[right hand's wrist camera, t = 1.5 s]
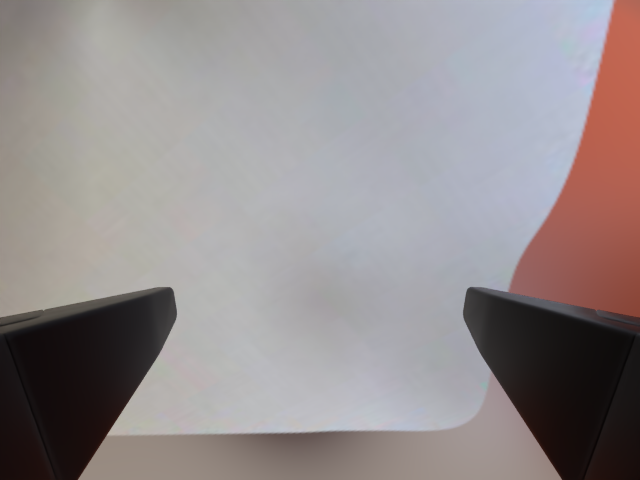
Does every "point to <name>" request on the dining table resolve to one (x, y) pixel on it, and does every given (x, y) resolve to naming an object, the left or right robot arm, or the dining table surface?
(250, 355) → the dining table surface
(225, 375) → the dining table surface
